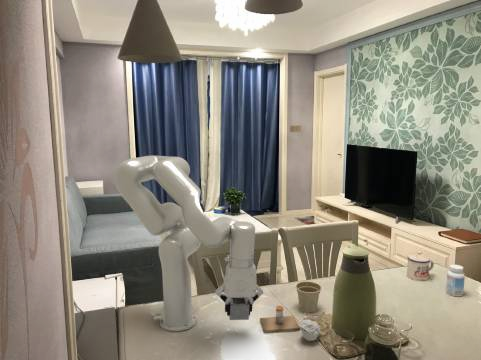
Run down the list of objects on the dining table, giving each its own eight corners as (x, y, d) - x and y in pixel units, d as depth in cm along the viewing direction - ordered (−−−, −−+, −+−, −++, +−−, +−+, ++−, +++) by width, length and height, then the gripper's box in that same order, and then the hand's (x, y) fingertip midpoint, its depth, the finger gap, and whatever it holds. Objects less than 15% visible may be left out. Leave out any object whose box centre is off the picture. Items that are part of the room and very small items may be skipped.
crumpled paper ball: (294, 339, 125) (295, 319, 124) (309, 332, 129) (310, 312, 128) (309, 348, 120) (309, 327, 119) (324, 340, 125) (324, 320, 123)
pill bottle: (463, 292, 157) (466, 265, 155) (462, 298, 152) (465, 270, 150) (446, 288, 160) (448, 262, 158) (444, 294, 155) (447, 267, 153)
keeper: (264, 333, 129) (264, 314, 128) (259, 320, 137) (259, 303, 136) (299, 330, 130) (300, 312, 129) (293, 318, 138) (293, 301, 137)
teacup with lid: (414, 282, 167) (416, 256, 165) (401, 273, 176) (403, 248, 174) (439, 279, 169) (441, 253, 167) (425, 271, 178) (427, 246, 176)
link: (229, 320, 124) (230, 305, 123) (228, 310, 130) (228, 296, 129) (248, 319, 125) (249, 305, 124) (246, 310, 131) (246, 296, 130)
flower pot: (320, 316, 139) (321, 293, 138) (294, 313, 141) (294, 291, 140) (321, 304, 148) (321, 282, 147) (295, 301, 150) (296, 280, 149)
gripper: (214, 265, 119) (212, 320, 122) (270, 266, 121) (266, 319, 125) (213, 256, 126) (210, 308, 130) (266, 256, 129) (262, 307, 132)
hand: (238, 313), depth 127 cm, fingers closed on link, 6 cm apart
